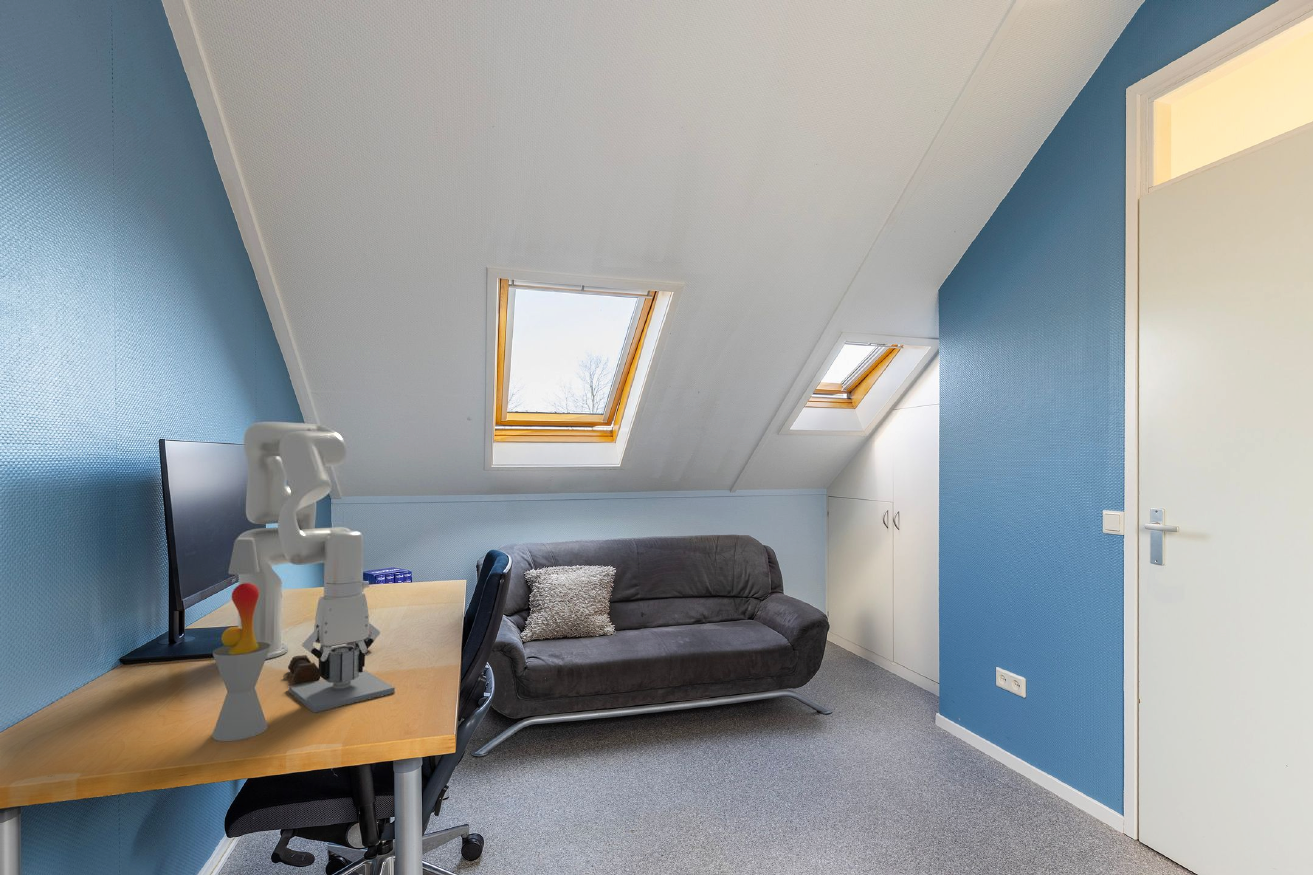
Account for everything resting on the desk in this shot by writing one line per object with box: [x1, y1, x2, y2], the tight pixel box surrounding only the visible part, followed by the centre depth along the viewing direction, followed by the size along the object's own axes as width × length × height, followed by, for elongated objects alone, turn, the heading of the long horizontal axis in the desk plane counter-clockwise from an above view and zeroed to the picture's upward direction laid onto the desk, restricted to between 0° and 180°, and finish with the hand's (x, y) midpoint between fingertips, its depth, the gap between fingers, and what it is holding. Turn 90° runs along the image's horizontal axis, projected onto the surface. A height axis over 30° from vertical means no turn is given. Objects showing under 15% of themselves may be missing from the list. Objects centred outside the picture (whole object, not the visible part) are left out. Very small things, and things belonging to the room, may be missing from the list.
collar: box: [326, 644, 359, 683], centre depth 144 cm, size 6×6×6 cm
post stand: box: [288, 648, 396, 714], centre depth 144 cm, size 16×16×9 cm
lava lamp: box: [211, 537, 270, 742], centre depth 124 cm, size 9×9×35 cm
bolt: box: [287, 654, 321, 685], centre depth 153 cm, size 6×5×15 cm
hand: (341, 673), depth 144 cm, fingers closed on collar, 6 cm apart
